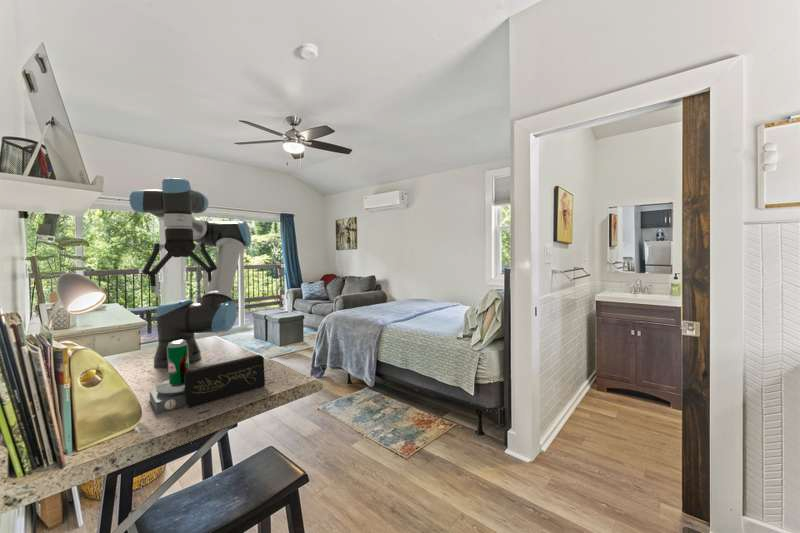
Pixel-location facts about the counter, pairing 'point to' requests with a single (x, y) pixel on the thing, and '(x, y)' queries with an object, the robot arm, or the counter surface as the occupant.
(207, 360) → the counter surface
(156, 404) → the scale base
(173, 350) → the soda can
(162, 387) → the scale pan
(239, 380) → the nameplate
